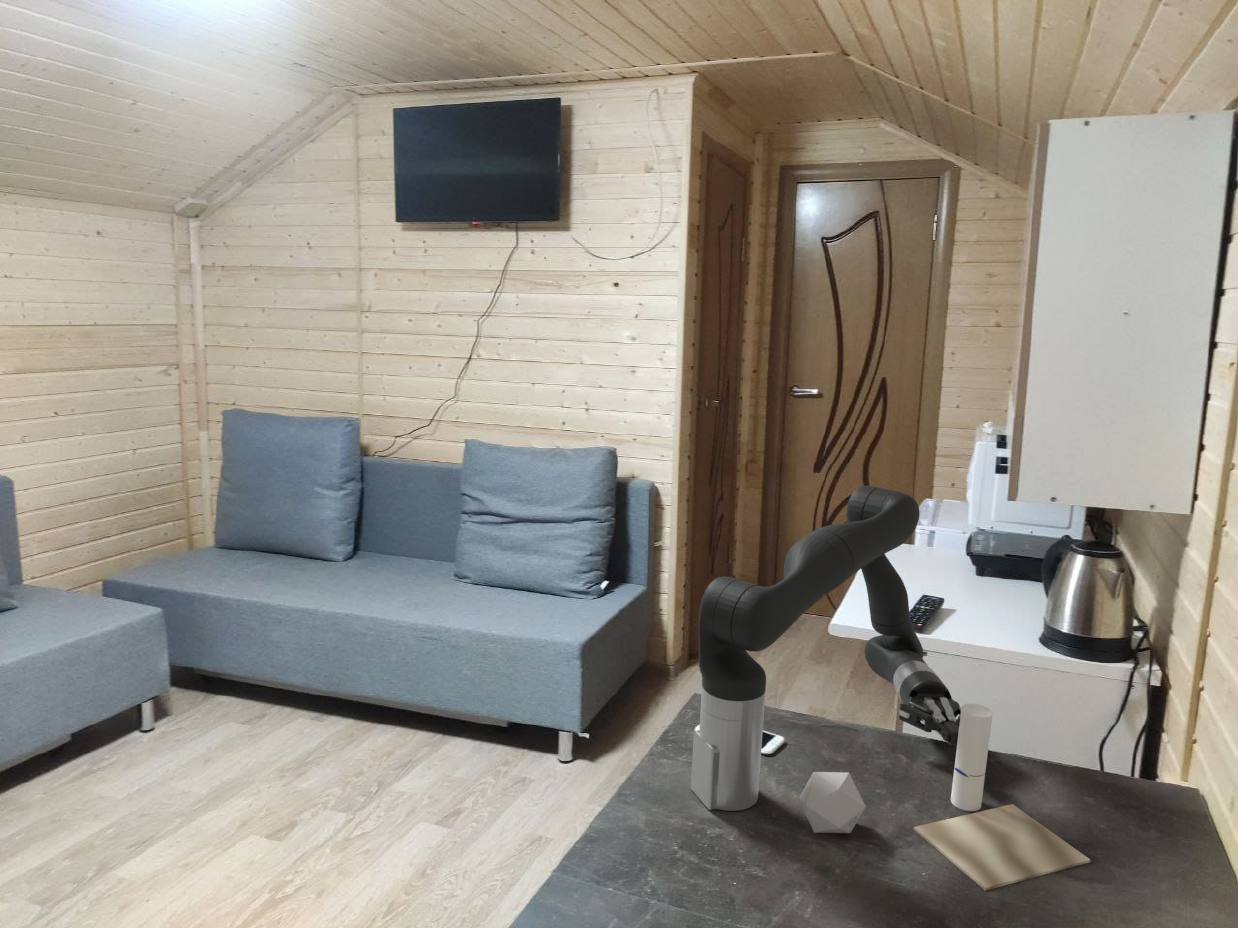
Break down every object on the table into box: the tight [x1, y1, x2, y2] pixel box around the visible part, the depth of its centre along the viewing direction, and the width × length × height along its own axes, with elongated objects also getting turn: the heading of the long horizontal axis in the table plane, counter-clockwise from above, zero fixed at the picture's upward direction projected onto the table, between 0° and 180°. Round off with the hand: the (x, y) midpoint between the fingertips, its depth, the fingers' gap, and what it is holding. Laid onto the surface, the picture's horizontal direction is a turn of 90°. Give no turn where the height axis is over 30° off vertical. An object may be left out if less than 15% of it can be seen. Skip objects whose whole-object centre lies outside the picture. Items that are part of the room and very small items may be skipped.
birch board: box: [913, 804, 1091, 892], centre depth 129 cm, size 18×14×1 cm
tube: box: [950, 703, 993, 812], centre depth 138 cm, size 4×4×15 cm
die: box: [798, 771, 867, 834], centre depth 131 cm, size 8×9×10 cm
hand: (956, 739), depth 144 cm, fingers closed
